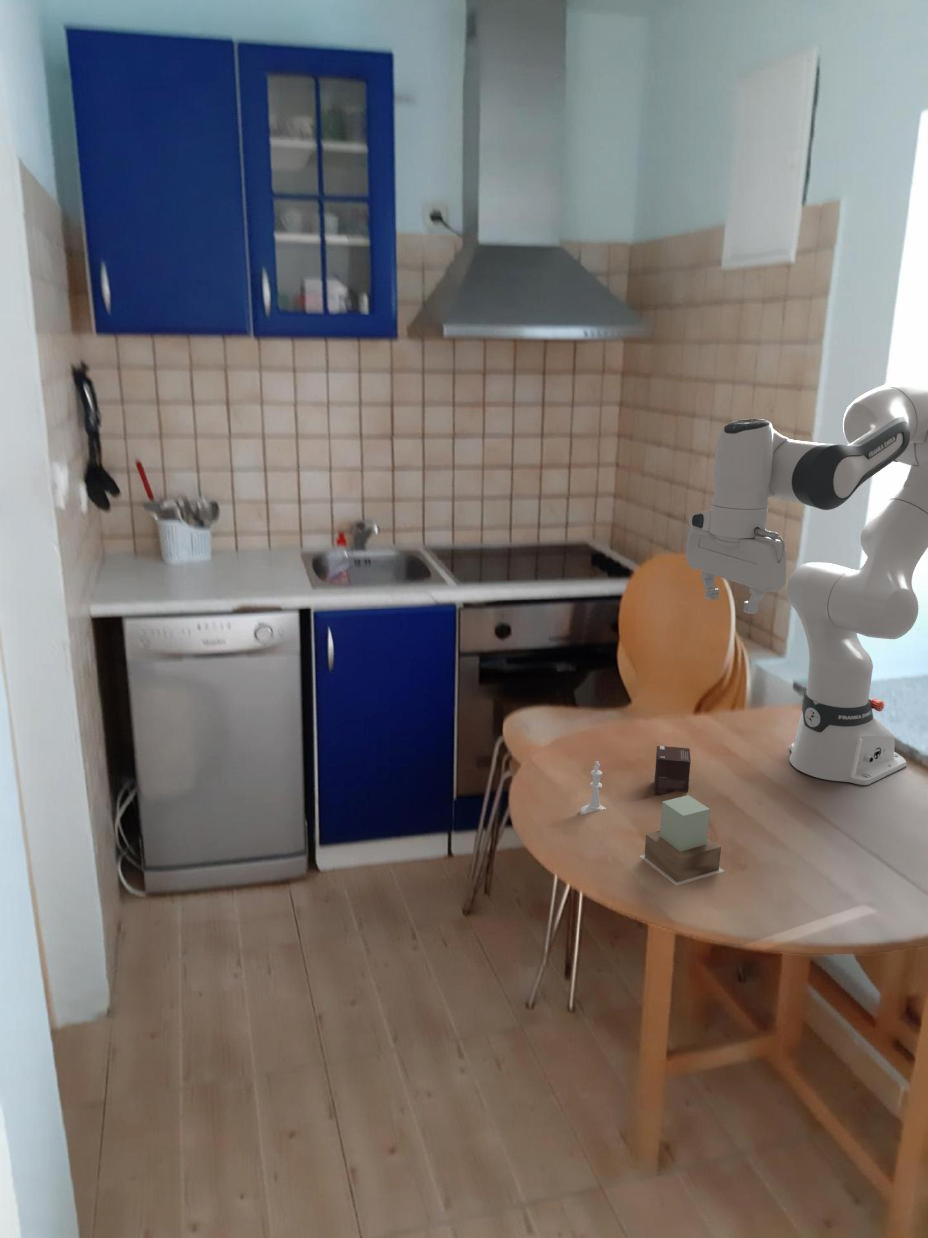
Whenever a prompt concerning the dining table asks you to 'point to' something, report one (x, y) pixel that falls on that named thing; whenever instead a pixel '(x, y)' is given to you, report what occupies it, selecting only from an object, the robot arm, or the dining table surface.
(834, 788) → the dining table surface
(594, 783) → the chess piece
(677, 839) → the sage block
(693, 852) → the base block
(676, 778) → the box
